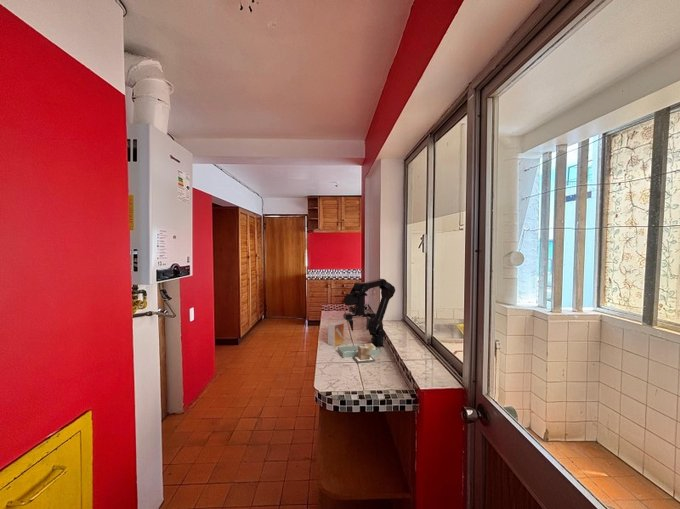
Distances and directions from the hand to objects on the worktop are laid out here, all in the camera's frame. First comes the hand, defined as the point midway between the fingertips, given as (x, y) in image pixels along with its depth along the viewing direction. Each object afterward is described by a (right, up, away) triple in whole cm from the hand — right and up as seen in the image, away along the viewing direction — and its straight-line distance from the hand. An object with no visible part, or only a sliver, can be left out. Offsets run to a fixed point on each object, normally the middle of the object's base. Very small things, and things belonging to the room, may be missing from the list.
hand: (359, 330), depth 180 cm
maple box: (+6, -12, -2) cm, 14 cm away
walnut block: (+1, -11, -15) cm, 19 cm away
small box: (-14, -12, +13) cm, 23 cm away
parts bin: (-1, -12, -4) cm, 13 cm away
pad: (+1, -12, -15) cm, 19 cm away
